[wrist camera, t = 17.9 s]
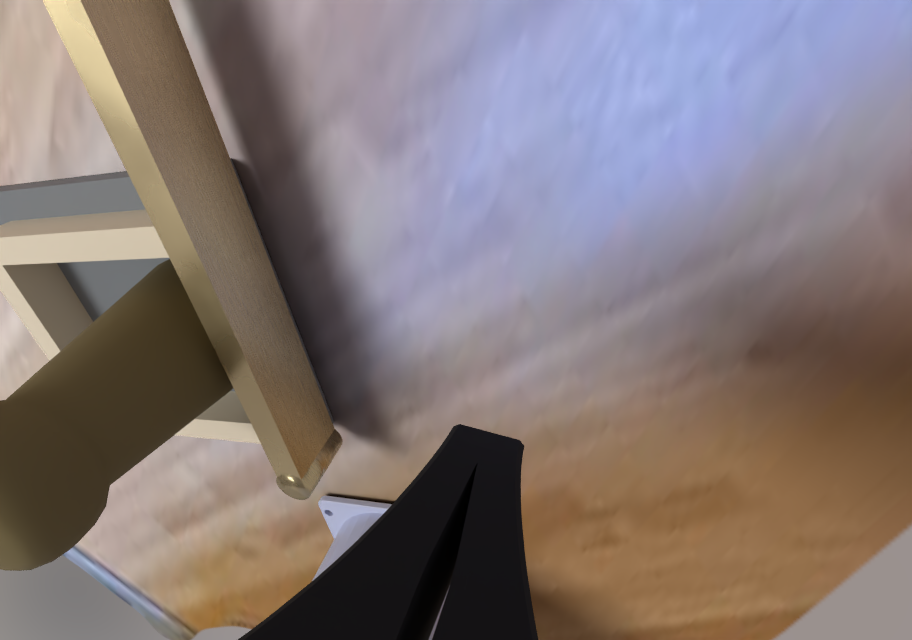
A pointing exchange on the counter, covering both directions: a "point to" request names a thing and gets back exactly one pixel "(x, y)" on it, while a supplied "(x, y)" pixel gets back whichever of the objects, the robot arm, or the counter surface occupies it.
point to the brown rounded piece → (100, 415)
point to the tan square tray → (91, 269)
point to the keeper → (201, 220)
